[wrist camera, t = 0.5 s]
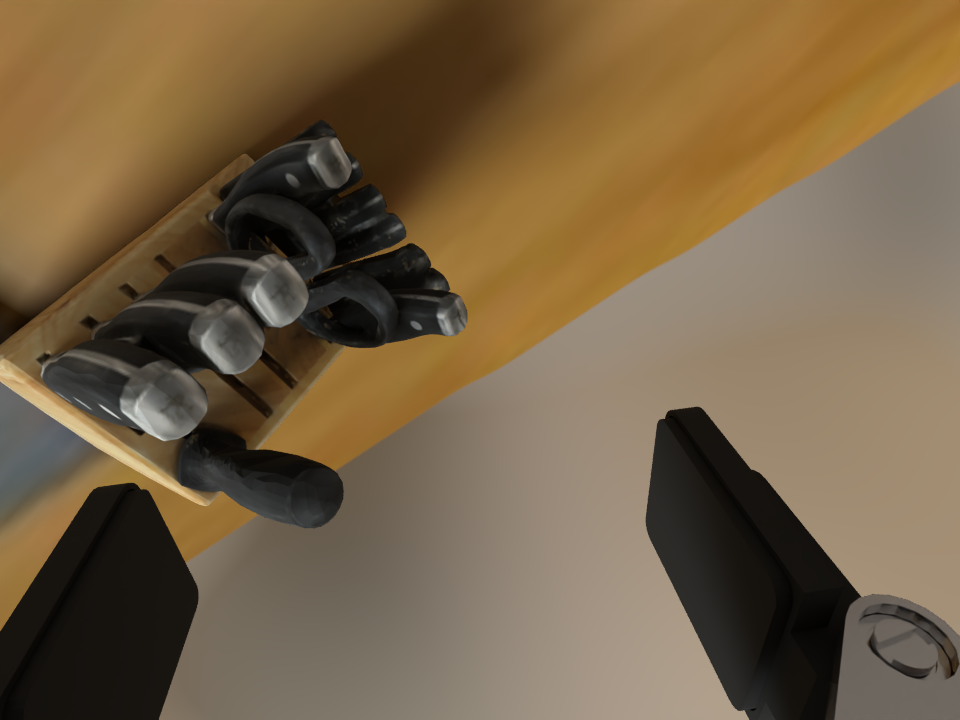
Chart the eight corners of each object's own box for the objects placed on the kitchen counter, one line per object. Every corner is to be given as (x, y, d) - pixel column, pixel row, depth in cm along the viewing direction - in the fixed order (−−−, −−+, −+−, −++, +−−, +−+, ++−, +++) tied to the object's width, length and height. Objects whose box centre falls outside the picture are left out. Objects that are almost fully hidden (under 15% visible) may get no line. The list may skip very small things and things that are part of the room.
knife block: (448, 204, 44) (528, 475, 17) (121, 431, 50) (-189, 883, 24) (354, 67, 38) (258, 152, 12) (0, 341, 45) (-581, 798, 18)
